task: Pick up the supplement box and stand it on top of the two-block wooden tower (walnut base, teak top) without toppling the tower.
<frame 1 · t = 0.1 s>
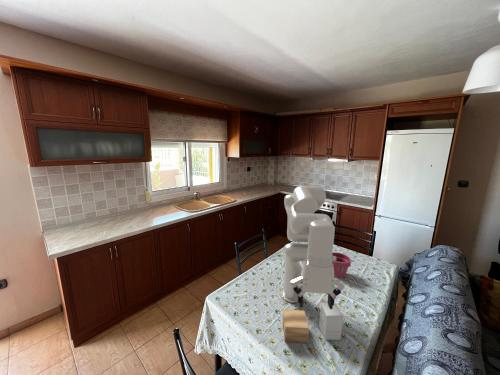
hand: (315, 305, 70), 31 cm above the table, fingers open, 9 cm apart
tower base: (294, 333, 95), on the table, touching tower top
supplement box: (329, 333, 95), on the table
plant pot: (337, 274, 140), on the table
tower top: (294, 325, 95), point 4 cm above the table, touching tower base
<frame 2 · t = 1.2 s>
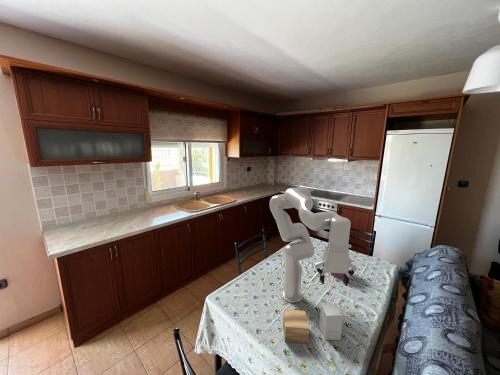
hand: (333, 283, 90), 26 cm above the table, fingers open, 9 cm apart
nothing on the table moved.
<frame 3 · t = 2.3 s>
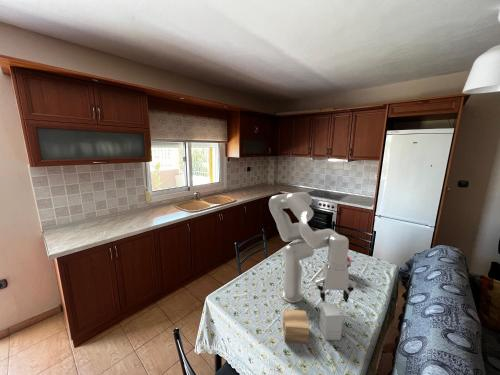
hand: (333, 299, 92), 18 cm above the table, fingers open, 9 cm apart
nothing on the table moved.
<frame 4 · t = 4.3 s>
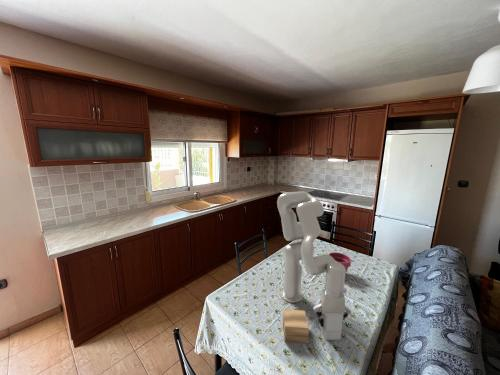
hand: (330, 324, 95), 4 cm above the table, fingers closed on supplement box, 7 cm apart
supplement box: (329, 333, 95), on the table, touching gripper
everything else where it was.
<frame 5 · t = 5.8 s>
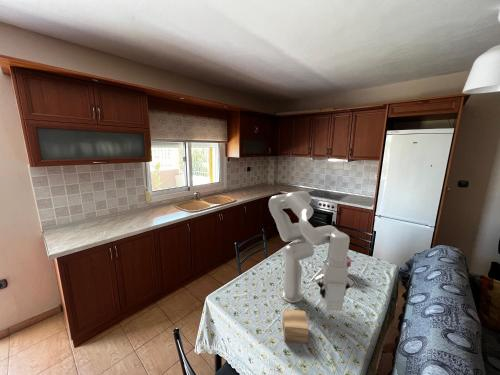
hand: (331, 296, 93), 19 cm above the table, fingers closed on supplement box, 7 cm apart
supplement box: (330, 305, 94), point 14 cm above the table, touching gripper
everything else where it was.
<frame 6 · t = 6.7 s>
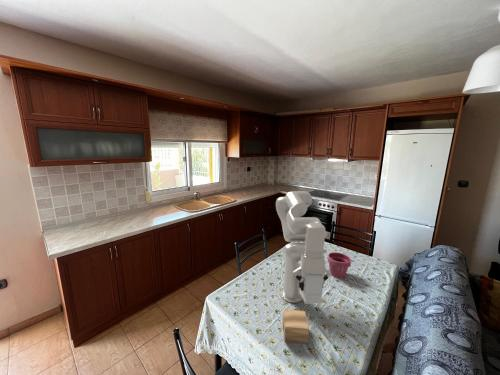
hand: (310, 288, 91), 23 cm above the table, fingers closed on supplement box, 7 cm apart
supplement box: (309, 298, 92), point 18 cm above the table, touching gripper
everything else where it was.
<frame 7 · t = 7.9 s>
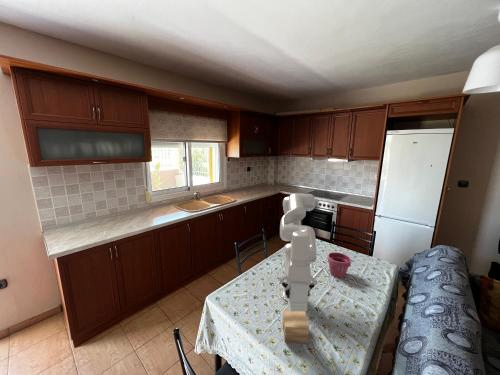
hand: (297, 296, 92), 19 cm above the table, fingers closed on supplement box, 7 cm apart
supplement box: (296, 305, 92), point 14 cm above the table, touching gripper
everything else where it was.
when the fingers open (13 cm above the table, at t = 9.8 s): supplement box drops 1 cm, resting on tower top.
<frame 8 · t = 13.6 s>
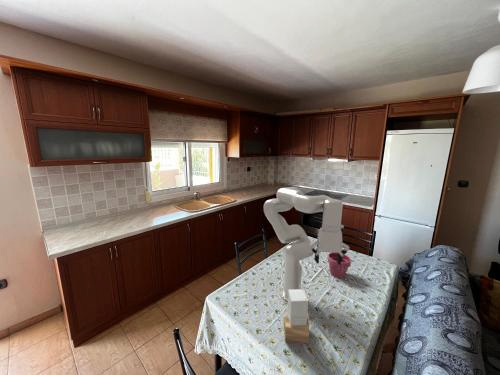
hand: (327, 262, 94), 32 cm above the table, fingers open, 9 cm apart
supplement box: (296, 319, 93), point 7 cm above the table, touching tower top
tower top: (296, 327, 94), point 4 cm above the table, touching supplement box, tower base
everything else where it was.
at the end: supplement box inside the target area on the tower top (0.3 cm from its centre), point 3.9 cm above the tower top's base; supplement box tilted 1°; tower top tilted 0° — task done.
